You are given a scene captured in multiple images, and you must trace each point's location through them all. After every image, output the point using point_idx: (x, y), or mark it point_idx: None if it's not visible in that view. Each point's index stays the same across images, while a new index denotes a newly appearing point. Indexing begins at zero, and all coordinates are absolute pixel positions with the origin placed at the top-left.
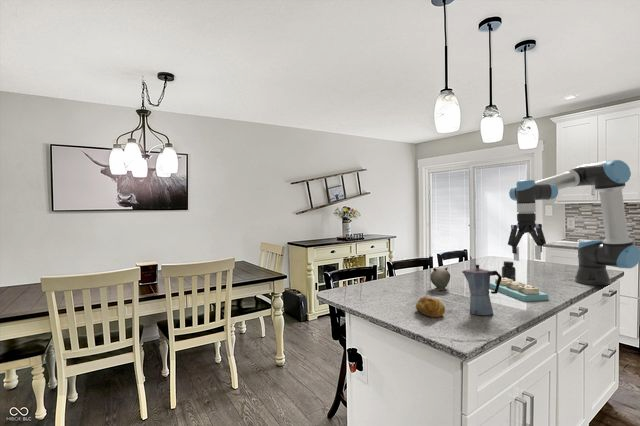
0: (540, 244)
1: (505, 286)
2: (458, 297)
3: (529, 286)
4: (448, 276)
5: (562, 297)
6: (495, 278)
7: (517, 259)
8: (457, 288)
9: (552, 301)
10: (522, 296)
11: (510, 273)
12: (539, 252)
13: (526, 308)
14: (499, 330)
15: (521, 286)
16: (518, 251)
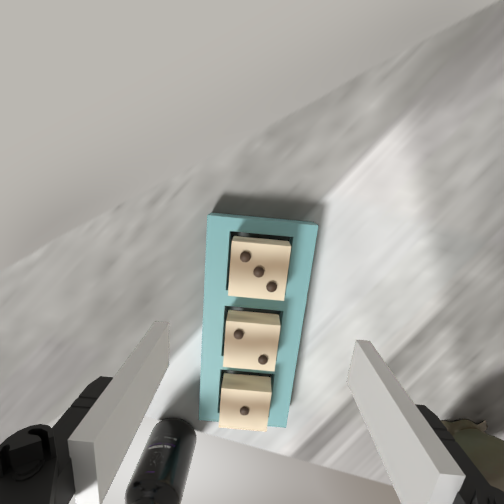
0: (45, 469)
1: None
2: (487, 331)
3: (245, 278)
4: (496, 466)
5: (137, 224)
6: (266, 430)
7: (375, 350)
8: None
9: (215, 189)
10: (315, 232)
11: (168, 460)
12: (136, 368)
13: (382, 136)
14: None
15: (276, 289)
16: (406, 411)
